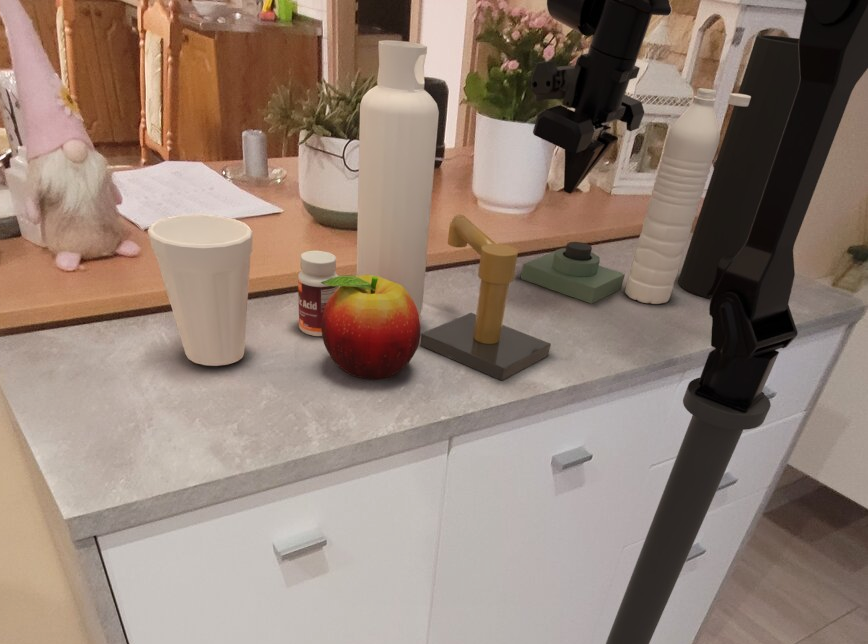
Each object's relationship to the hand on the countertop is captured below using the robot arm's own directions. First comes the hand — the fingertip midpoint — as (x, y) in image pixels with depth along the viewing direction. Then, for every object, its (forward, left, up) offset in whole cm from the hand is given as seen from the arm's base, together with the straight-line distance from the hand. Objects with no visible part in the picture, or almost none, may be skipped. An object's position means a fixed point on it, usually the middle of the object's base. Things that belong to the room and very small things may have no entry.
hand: (568, 191), depth 95 cm
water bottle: (-12, -9, -13) cm, 20 cm away
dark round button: (-1, -4, -9) cm, 10 cm away
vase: (-16, -21, -13) cm, 29 cm away
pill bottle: (+11, +36, -13) cm, 40 cm away
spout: (-2, +22, -4) cm, 22 cm away
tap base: (-6, +25, -12) cm, 29 cm away
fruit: (0, +39, -13) cm, 41 cm away
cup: (+13, +50, -13) cm, 53 cm away
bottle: (+6, +29, -13) cm, 32 cm away
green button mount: (-1, -4, -12) cm, 13 cm away
